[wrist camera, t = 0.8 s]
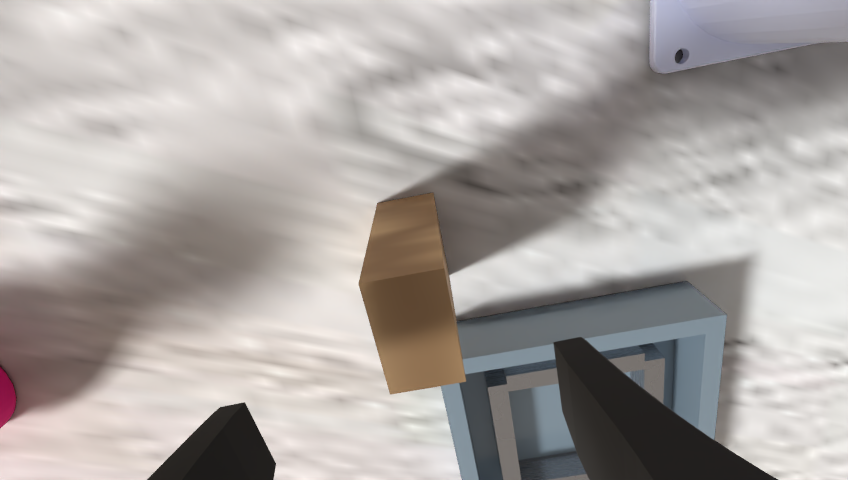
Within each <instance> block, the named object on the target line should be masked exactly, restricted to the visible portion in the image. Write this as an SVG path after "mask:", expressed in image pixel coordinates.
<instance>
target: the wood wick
mask: <svg viewBox="0 0 848 480" xmlns="http://www.w3.org/2000/svg"><path fill="white" fill-rule="evenodd" d="M359 287H360V291H361V294H362V298H363V301H364V304H365V308H366V311H367V315H368V318H369V322H370V325H371V329H372V332H373V336H374V339H375V343H376V346H377V350H378V353H379V357H380V360H381V364H382V367H383V371H384V374H385V378H386V381H387V385H388V388H389V392H390V394H395V393H401V392H407V391H413V390H419V389H425V388H431V387H437V386H443V385H449V384H455V383H461V382H466V377H465V371H464V365H463V359H462V352H461V346H460V340H459V334H458V328H457V322H456V315H455V309H454V303H453V297H452V291H451V285H450V278H449V273H448V267H447V262H446V257H445V252H444V246H443V241H442V236H441V231H440V226H439V220H438V215H437V210H436V205H435V199H434V194H433V193H428V194H423V195H418V196H412V197H407V198H402V199H397V200H392V201H386V202H381V203H377V207H376V211H375V216H374V220H373V224H372V228H371V233H370V237H369V241H368V246H367V250H366V254H365V258H364V263H363V267H362V271H361V276H360V280H359Z"/></svg>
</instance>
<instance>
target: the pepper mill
mask: <svg viewBox="0 0 848 480" xmlns="http://www.w3.org/2000/svg"><path fill="white" fill-rule="evenodd" d="M15 405H16V395H15V391H14V387H13V384H12V382H11V381H10V379H9V377H8V376H7V374H6V373H5V371H4V370H3V369H2V368H1V367H0V428H1V427H2V426H3V425H4V424H6V422H7V421H8V420H9V419H10V418H11V416H12V414H13V413H14V410H15Z"/></svg>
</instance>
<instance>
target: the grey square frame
mask: <svg viewBox="0 0 848 480" xmlns="http://www.w3.org/2000/svg"><path fill="white" fill-rule="evenodd" d="M600 353H601V354H602V355H603V356H605V357H606V358H607V359H608V360H609V361H610V362H611V363H613V364H614V365H615V366H616V367H617V368H619V369H620V370H621V371H622V372H623V373H625V372H630V378H631V379H632V380H633V381H634V382H636V383H637V384H638V385H639V386H641V387H642V388H643V389H645V390H646V391H647V392H648V393H650V394H651V395H652V396H654V397H655V398H656V399H658V400H659V401H660V402H661V403H663V399H664V370H665V358H664V356H663V355H662V354H661V353H660V351H659V350H658V349H657V348H656V347H655V345H654V344H653V343H649V344H643V345H637V346H631V347H625V348H619V349H613V350H607V351H601V352H600ZM484 375H485V381H486V387H487V393H488V399H489V404H490V410H491V416H492V422H493V428H494V434H495V439H496V445H497V451H498V457H499V463H500V468H501V473H502V478H503V480H589V478H588V476H587V474H586V472H585V470H584V467H583V465H582V463H581V461H580V459H579V457H578V454H577V452H576V451H574V452H567V453H561V454H554V455H548V456H542V457H535V458H529V459H523V460H518V454H517V447H516V441H515V434H514V427H513V420H512V413H511V407H510V400H509V393H508V392H510V391H516V390H522V389H528V388H534V387H540V386H546V385H553V384H559V383H558V375H557V367H556V359H553V360H547V361H542V362H536V363H530V364H524V365H518V366H512V367H506V368H500V369H494V370H488V371H484Z"/></svg>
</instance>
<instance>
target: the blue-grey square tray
mask: <svg viewBox="0 0 848 480" xmlns="http://www.w3.org/2000/svg"><path fill="white" fill-rule="evenodd" d="M726 319H727V314H726V313H725V312H723V311H722V310H721V309H720V308H719V307H717V306H716V305H715V304H714V303H713V302H711V301H710V300H709V299H708V298H707V297H705V296H704V295H703V294H702V293H701V292H700V291H698V290H697V289H696V288H695V287H694V286H692V285H691V284H690V283H689V282H688V281H685V282H680V283H674V284H668V285H662V286H657V287H651V288H645V289H640V290H634V291H628V292H622V293H617V294H611V295H605V296H599V297H594V298H588V299H582V300H577V301H571V302H565V303H559V304H554V305H548V306H542V307H537V308H531V309H525V310H519V311H514V312H508V313H502V314H496V315H491V316H485V317H479V318H474V319H468V320H462V321H456V322H457V328H458V334H459V340H460V346H461V352H462V359H463V365H464V371H465V377H466V382H461V383H455V384H449V385H443V386H441V389H442V393H443V398H444V402H445V407H446V411H447V416H448V420H449V425H450V429H451V433H452V438H453V442H454V447H455V451H456V456H457V460H458V465H459V469H460V474H461V478H462V480H503V478H502V473H501V468H500V463H499V457H498V451H497V445H496V439H495V434H494V428H493V422H492V416H491V410H490V404H489V399H488V393H487V387H486V381H485V375H484V371H488V370H494V369H500V368H506V367H512V366H518V365H524V364H530V363H536V362H542V361H547V360H553V359H555V352H554V344H553V342H556V341H562V340H567V339H572V338H577V337H582V338H584V339H585V340H587V341H588V342H589V343H590V344H591V345H592V346H593V347H594V348H595V349H597V350H598V351H599V352H601V351H607V350H613V349H619V348H625V347H631V346H637V345H643V344H649V343H653V344H654V345H655V347H656V348H657V349H658V350H659V351H660V353H661V354H662V355H663V356H664V358H665V370H664V399H663V404H664V405H665V406H667V407H668V408H669V409H671V410H672V411H673V412H675V413H676V414H678V415H679V416H680V417H682V418H683V419H685V420H686V421H687V422H689V423H690V424H692V425H693V426H695V427H696V428H697V429H699V430H700V431H702V432H703V433H705V434H706V435H707V436H709V437H710V438H712V439H713V440H714V439H715V429H716V419H717V409H718V399H719V389H720V379H721V369H722V359H723V349H724V339H725V329H726ZM625 374H626V375H627V376H628V377H629V378H630V372H625ZM508 393H509V400H510V407H511V413H512V420H513V427H514V434H515V441H516V447H517V454H518V460H523V459H529V458H535V457H542V456H548V455H554V454H561V453H567V452H574V451H576V449H575V446H574V443H573V440H572V438H571V435H570V432H569V429H568V426H567V423H566V421H565V418H564V415H563V412H562V406H561V398H560V390H559V384H553V385H546V386H540V387H534V388H528V389H522V390H516V391H510V392H508Z"/></svg>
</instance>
